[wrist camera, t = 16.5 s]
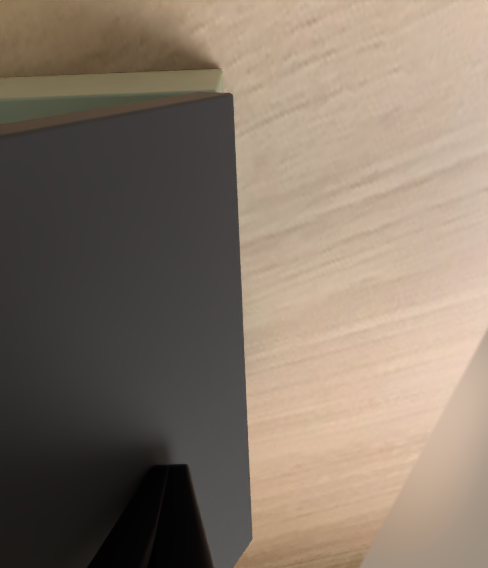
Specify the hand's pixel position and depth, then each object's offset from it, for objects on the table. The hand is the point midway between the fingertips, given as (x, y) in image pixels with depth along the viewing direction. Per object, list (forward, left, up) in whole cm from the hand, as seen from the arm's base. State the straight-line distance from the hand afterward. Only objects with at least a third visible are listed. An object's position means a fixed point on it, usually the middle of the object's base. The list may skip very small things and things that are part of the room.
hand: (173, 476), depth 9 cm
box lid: (-3, 0, +2) cm, 4 cm away
